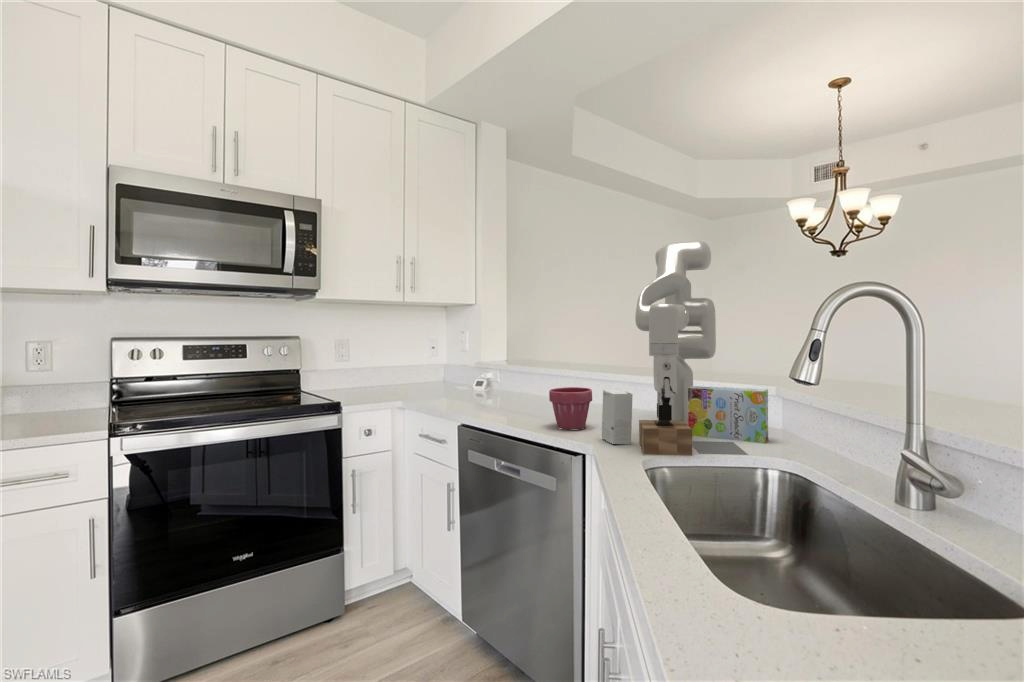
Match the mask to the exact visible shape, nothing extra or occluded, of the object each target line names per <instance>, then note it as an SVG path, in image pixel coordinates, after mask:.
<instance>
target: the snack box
mask: <svg viewBox="0 0 1024 682" xmlns="http://www.w3.org/2000/svg"><path fill="white" fill-rule="evenodd" d="M688 426H689V427H690V428H691V429H692V437H693V436H695V437H700V438H701V437H702V438H711V439H721V440H731V441H738V442H739V441H740V442H747V443H758V444H767V442H768V441H769V390H768V389H765V388H743V387H727V386H723V387H721V386H720V387H719V386H697V385H693V386H692V387H689V388H688Z"/></svg>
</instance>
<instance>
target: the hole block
mask: <svg viewBox="0 0 1024 682" xmlns="http://www.w3.org/2000/svg"><path fill="white" fill-rule="evenodd" d="M638 432H639V433H638V437H639V438H638V440H639V441H638V444H639V448H640V447H641V448H640V450H641V453H642V455H643V454H644V455H650V456H651V455H654V456H659V455H660V456H662V455H663V456H691V457H692V456H693V446H692V441H693V436H692V429H691V428H690V427H689V426H688V425H687V424H686V423H685V422H684V421H678V420H671V421H670V426H658V419H639V420H638Z"/></svg>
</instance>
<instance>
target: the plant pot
mask: <svg viewBox="0 0 1024 682" xmlns="http://www.w3.org/2000/svg"><path fill="white" fill-rule="evenodd" d="M548 395H549V396H548V397H549V398H548V399H549V402H551V404H552V408H553V414H554V417H555V422H556V425H557V428H558V427H559V428H562V429H581V430H584V429H586V424H587V419H588V415H589V409H590V405H591V404H590V403H591V402H592V401H593V390H592V389H591V388H589V387H588V388H587V387H580V386H579V387H577V386H576V387H574V386H572V387H571V386H570V387H569V386H567V387H557V388H552V389H549V393H548ZM559 428H558V429H559ZM583 428H584V429H583ZM562 429H561V430H562Z"/></svg>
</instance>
